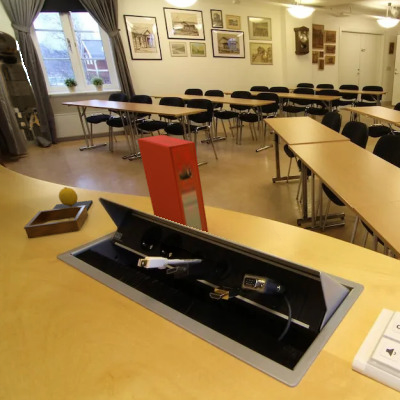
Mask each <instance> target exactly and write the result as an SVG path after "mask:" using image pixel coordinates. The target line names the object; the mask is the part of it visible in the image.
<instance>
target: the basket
mask: <svg viewBox="0 0 400 400" xmlns="http://www.w3.org/2000/svg"><path fill="white" fill-rule="evenodd" d="M88 216H89V212H88V211H87V209H86V205H84V206H76V207H68V208H60V209H53V208H52V209H45V210H39V211H38V212H36V214H35V215H34V216H33V217H32V218H31V219H30V220H29V222H27V223H26V224H25V226H24V227H23V229H24V230H25V233H26V235H27V238H28V239H31V238H37V237H38V238H39V237H45V236H51V235H57V234H64V233H72V232H79V231H80V230H81V228H82V226H83V225H84V223H85V221H86V220H87V218H88ZM70 217H73V219H71V218H70ZM86 217H87V218H86ZM65 218H66V219H68V220H66V219H65ZM57 220H59V221H57ZM50 221H52V222H50ZM53 221H55V222H53ZM45 222H47V223H45ZM78 230H79V231H78ZM71 231H72V232H71Z"/></svg>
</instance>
